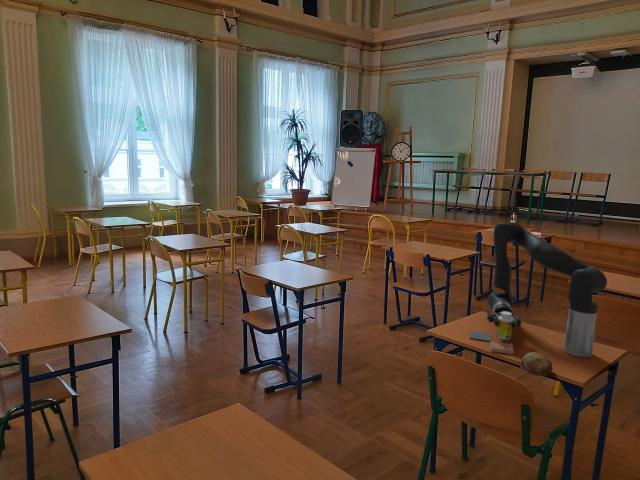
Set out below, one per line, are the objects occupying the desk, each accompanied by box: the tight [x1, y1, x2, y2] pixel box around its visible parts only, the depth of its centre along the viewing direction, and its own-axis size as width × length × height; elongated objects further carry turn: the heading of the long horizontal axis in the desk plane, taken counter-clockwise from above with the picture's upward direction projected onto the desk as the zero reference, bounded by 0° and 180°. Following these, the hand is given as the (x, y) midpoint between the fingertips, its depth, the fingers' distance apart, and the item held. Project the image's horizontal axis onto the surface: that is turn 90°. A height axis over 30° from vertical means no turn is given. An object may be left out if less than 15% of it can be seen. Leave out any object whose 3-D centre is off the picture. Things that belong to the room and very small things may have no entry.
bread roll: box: [520, 351, 554, 377], centre depth 168 cm, size 10×10×8 cm
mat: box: [469, 330, 492, 343], centre depth 197 cm, size 8×8×1 cm
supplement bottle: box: [495, 311, 513, 341], centre depth 190 cm, size 6×6×10 cm
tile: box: [489, 340, 515, 355], centre depth 185 cm, size 8×2×7 cm
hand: (505, 325), depth 187 cm, fingers closed on supplement bottle, 5 cm apart
